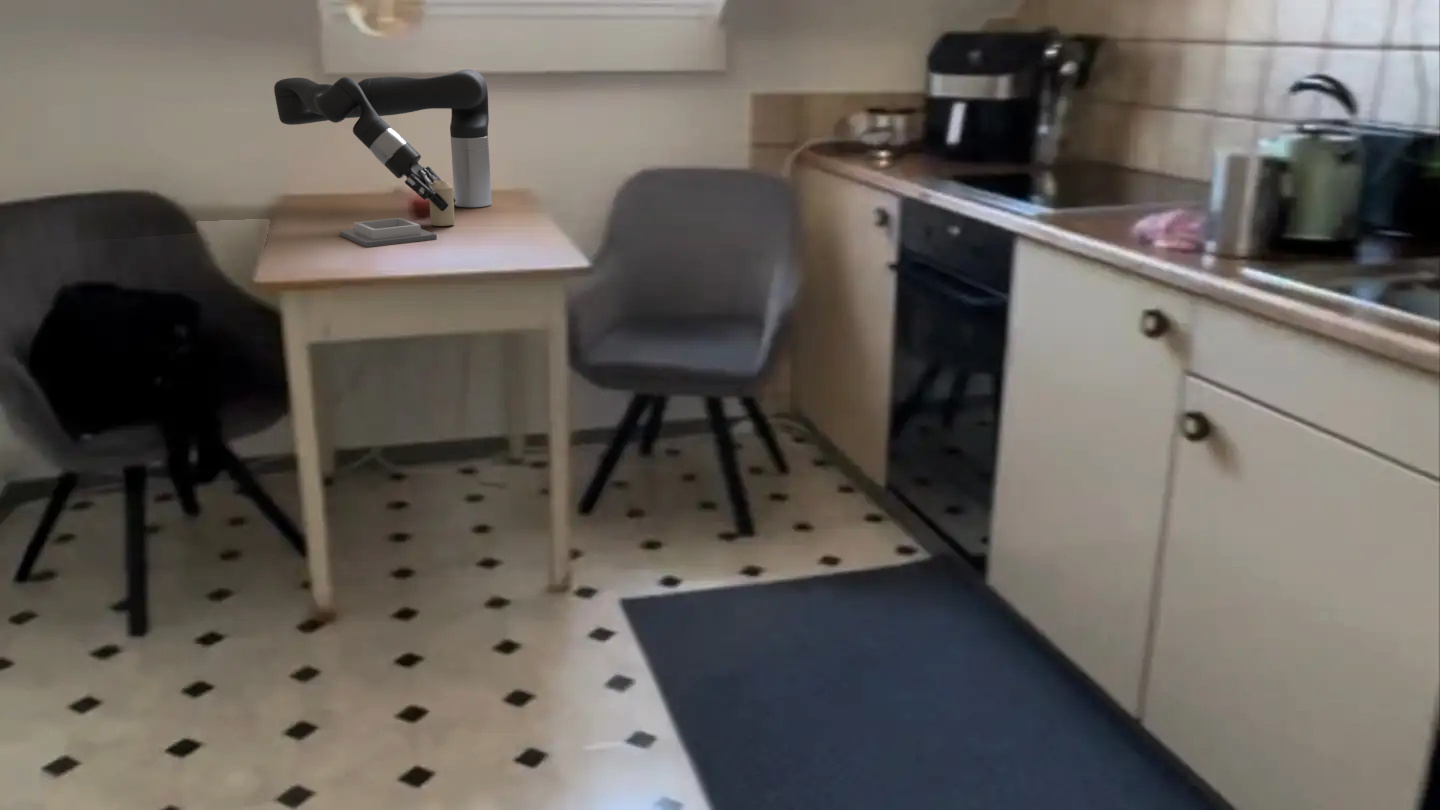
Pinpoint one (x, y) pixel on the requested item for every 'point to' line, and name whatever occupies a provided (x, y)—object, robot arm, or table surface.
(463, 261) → the table surface
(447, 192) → the candle
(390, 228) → the candle tray
